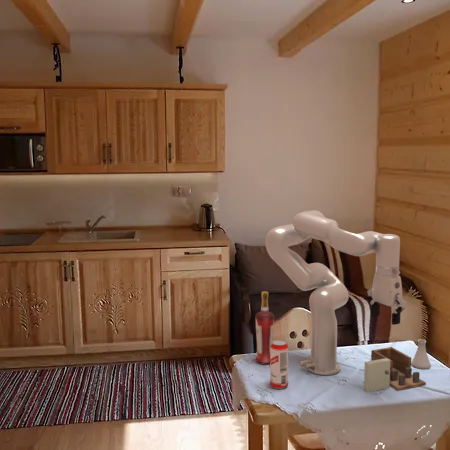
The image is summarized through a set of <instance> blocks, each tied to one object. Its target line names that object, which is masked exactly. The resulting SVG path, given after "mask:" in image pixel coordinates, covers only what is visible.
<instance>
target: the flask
mask: <svg viewBox="0 0 450 450" xmlns="http://www.w3.org/2000/svg"><path fill="white" fill-rule="evenodd" d="M426 344H427V340H426V339H421V338H420V339H417V349H416V350H415V351H416V352H415V354H414V357H413V358H412V360H411V367H413V368H415V369H416V368H417V369H420V370H430V369H431V366H432V365H431V361H430V359H429V356H428V352H427V350H426Z"/></svg>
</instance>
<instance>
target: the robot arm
mask: <svg viewBox="0 0 450 450" xmlns="http://www.w3.org/2000/svg"><path fill="white" fill-rule="evenodd" d="M309 238H312V239H315V240H318V241H321V242H324V243H327V244H328V245H329V246H330V247H332V248H333V249H335V250H336V251H339V252H340V253H341V252H342V253H344V254H348V255H350V256H354V257H363V256H366V255H369V254H373V253H375V273H374V275H373V281H372V288H369V289H368V290H367V291H366V292H367V297H368V299H369V301H370V305H371V312H370V313H371V315H370V316H371V317H373V318H374V317H378V316H380V312H381V311H380V308H381V304H382V305H384V306H387V307H390V308H391V311H392V313H391V324H392V326H395V325H400V324H401V313H403V311H404V310H405V308H406V306H407V304H408V303H407V302H408V301H406V300H405V299H404V298H403V285H402V278H401V276H400V274H401V271H400V253H401V239H400V238H401V237H400V236H398V235H397V234H394V233H393V234H392V233H381V232H377V231H372V230H370V231H362V232H359V233H353V232H351V231H347V230H344V229H341V228H340V227H339V223H338V222H337V221H336V220H335V219H331V218H327V217H325V214H323V213H322V212H321V211H319V210H314V209H313V210H305V211H302V212H298V213H297V214H295V216H294V217H293V219H292V223H291V224H285V225H279V226H275V227H273V228H271V229H270V230H269V231H268V232H267V234H266V236H265V250H266V252H267V254H268V255H269V257H270V258H271V259H272V261H274V263H276V264H277V265H278V267H280V269H282V271H283V272H284V273H285V274H286V275H287V277H288V278H289V279H290V280H291V282H293V283H294V284H295V285H296V287H297V288H298V289H299V290H301V291H304V292H306V291H312V290H313V291H312V292H311V294H310V296H309V298H308V299H309V301H308V303H309V311H310V319H311V323H310V325H311V327H310V328H311V330H310V331H311V332H310V334H311V335H310V336H311V337H310V339H311V340H310V342H311V343H310V345H311V346H310V355H308V356H307V357H308V358H307V359H306V360H300V361H298V364H299V367H304V366H305V368H306V369H307V371H309V372H310V373H312V374H316V375H320V376H331V375H336V374H338V373H340V372H341V365H340V364H339V363H338V362H337V357H338V356H337V352H338V351H337V350H338V321H337V316H336V313H335V310H337V309H340V308H342V307H343V306H344V305H346V304H347V302H348V301H349V297H350V296H349V292H348V289H347V287H346V286H345V284H343V282H342V281H341V280H340V279H339V278H338V276H336V275H335V274H334V273H333V271H332V270H330V269H329V268H328V267H327V266H326V265H325V264H324V263H320V262H313V263H312V262H311V263H307V262H306V261H305V260H304V258H302V257H301V256H300V255H299V254H298V253H297V252H296V251H294V250H292V249H291V248H289V247H292V246H295V245H299V244H301V243H303V242H305V241H306V240H308V239H309ZM314 289H315V290H314ZM379 303H380V304H379Z"/></svg>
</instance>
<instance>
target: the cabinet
mask: <svg viewBox="0 0 450 450" xmlns="http://www.w3.org/2000/svg"><path fill="white" fill-rule="evenodd" d="M385 358H387V359H389V360H390V384H389V387H391V388H392V389H394V390H396V391H397V392H398V391H403V390H408V389H413V388H417V387H423V386H426V384H427V382H426V381H424V380H422V379H421V378H420V372H419V371H414V372H412V371H413V369H412V365H411V363H412V357H411V356H409V355H408V354H405V353H403V352H401V351H399V350H398V349H396V348H394V347H393V346H390V347H384V348H382V347H381V348H376V349H371V355H370V361H373V360H379V359H385Z"/></svg>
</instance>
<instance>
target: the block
mask: <svg viewBox="0 0 450 450" xmlns="http://www.w3.org/2000/svg"><path fill="white" fill-rule="evenodd" d="M363 372H364V373H363V375H364V376H363V377H364V378H363V390H364V391H365V392H367V393H369V392H375V391H379V390H384V389H385V390H386V389H390V386H389V384H390V360H389V359H387V358H385V359H379V360H373V361H371V360H368V361H364V371H363Z"/></svg>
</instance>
